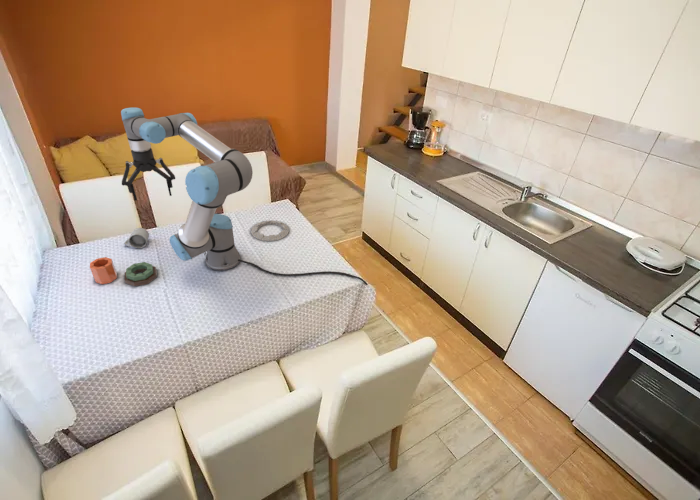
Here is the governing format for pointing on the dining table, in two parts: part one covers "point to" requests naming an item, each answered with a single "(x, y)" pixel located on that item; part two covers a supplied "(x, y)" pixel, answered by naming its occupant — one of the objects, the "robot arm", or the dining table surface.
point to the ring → (270, 237)
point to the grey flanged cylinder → (138, 238)
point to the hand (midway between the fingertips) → (153, 196)
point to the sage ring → (140, 276)
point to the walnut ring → (144, 281)
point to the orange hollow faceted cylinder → (103, 270)
